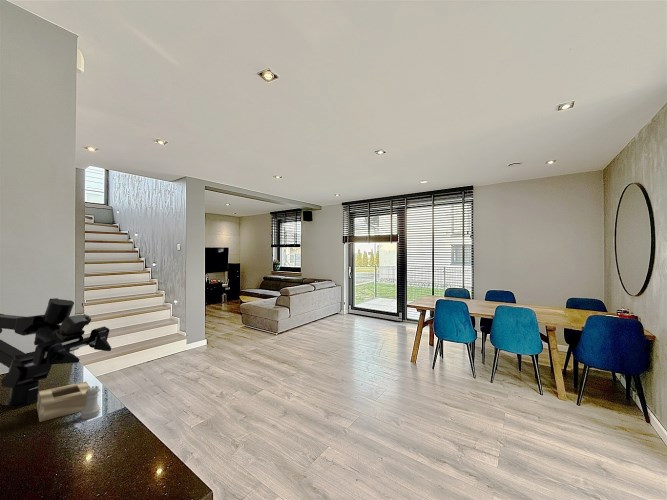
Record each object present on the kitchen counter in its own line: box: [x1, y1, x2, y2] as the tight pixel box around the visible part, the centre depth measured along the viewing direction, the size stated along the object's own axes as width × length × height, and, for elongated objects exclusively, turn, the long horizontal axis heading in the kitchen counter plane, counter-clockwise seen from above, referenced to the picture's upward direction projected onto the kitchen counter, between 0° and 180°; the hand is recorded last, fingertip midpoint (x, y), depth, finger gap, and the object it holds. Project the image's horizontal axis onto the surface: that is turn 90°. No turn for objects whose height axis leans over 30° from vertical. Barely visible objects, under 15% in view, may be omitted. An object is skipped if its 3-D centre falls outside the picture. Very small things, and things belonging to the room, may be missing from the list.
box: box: [36, 381, 90, 423], centre depth 85 cm, size 11×11×5 cm
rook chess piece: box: [80, 385, 101, 420], centre depth 82 cm, size 4×4×8 cm
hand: (95, 354), depth 84 cm, fingers open, 9 cm apart
